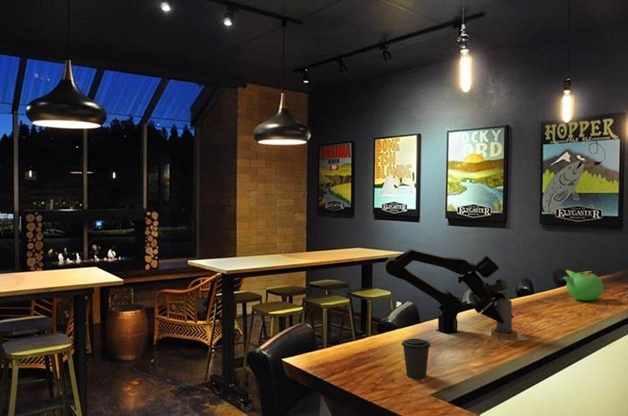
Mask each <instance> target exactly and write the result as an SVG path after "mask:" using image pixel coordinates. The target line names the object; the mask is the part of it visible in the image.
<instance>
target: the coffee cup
mask: <svg viewBox="0 0 628 416" xmlns="http://www.w3.org/2000/svg"><path fill="white" fill-rule="evenodd" d="M401 346H402V347H403V354H404V364H405V370H406V371H405V372H406V374H405V375H406V377H408V378H409V379H413V380H422V379H425V378H426V377H427V369H428V357H429V350H430V347H431V343H430V342H429V341H427V340H424V339H421V338H409V339H404V340H402V342H401Z"/></svg>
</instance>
